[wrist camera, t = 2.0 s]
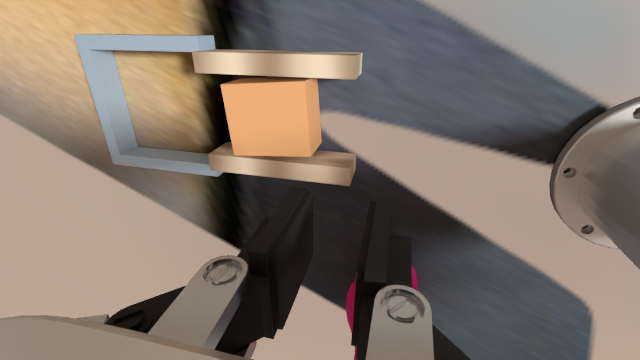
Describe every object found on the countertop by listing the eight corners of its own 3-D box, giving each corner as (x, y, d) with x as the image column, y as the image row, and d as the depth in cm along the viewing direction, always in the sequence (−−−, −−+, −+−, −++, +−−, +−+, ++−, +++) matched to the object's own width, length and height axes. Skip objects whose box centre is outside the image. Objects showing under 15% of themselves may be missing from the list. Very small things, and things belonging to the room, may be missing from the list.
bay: (213, 35, 27) (196, 35, 25) (230, 166, 32) (217, 176, 30) (98, 34, 30) (73, 34, 27) (131, 155, 35) (113, 164, 33)
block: (317, 74, 27) (304, 81, 23) (322, 141, 29) (310, 157, 26) (243, 77, 28) (220, 84, 25) (253, 140, 31) (234, 155, 27)
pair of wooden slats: (362, 52, 25) (356, 55, 22) (355, 169, 29) (349, 186, 26) (215, 49, 28) (191, 51, 25) (229, 156, 32) (210, 170, 29)
